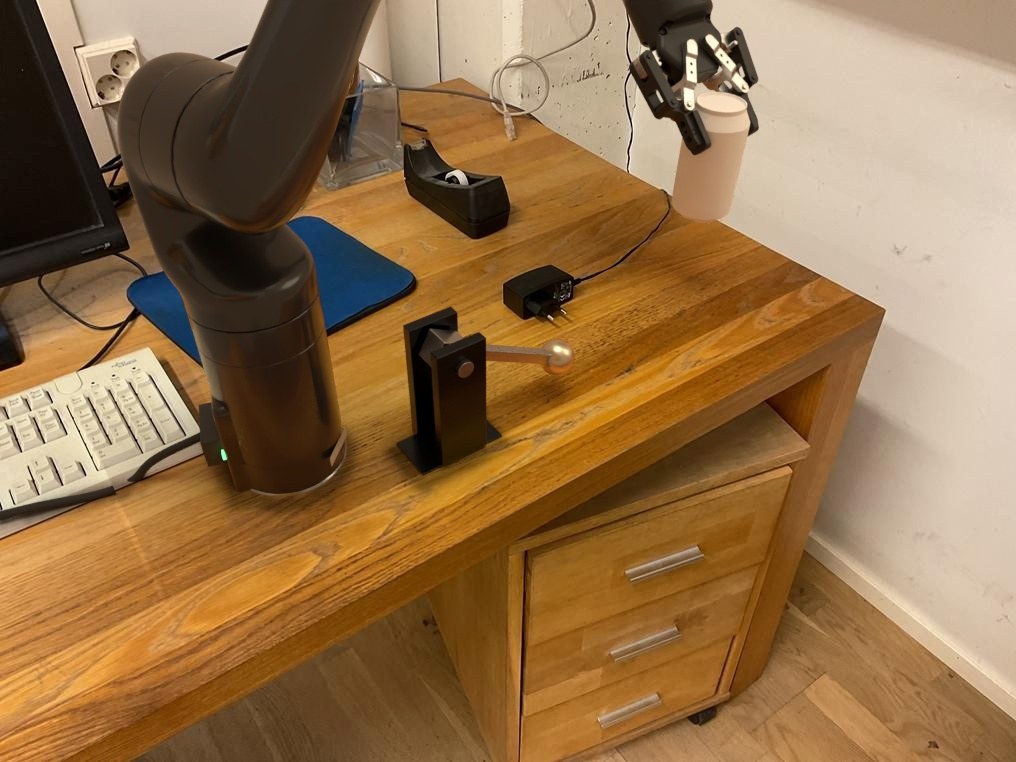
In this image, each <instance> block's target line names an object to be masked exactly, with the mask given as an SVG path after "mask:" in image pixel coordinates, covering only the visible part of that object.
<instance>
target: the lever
mask: <svg viewBox="0 0 1016 762" xmlns="http://www.w3.org/2000/svg"><path fill="white" fill-rule="evenodd" d="M463 338H465V337H464V336H463V335H461V333H459V331H458V332H457V331H451V330H440V329H429V331H428V334H427V336H426V338H425V341H424V343H423V346H422V348H421V350H420V353H419V355H420V356H421V357H422V358H423V359H424V360H425V361H426V362H427V363H428V364H429V365H430V366H431V352H432V351H434V350H437V349H439V348H442V347H444V346H446V345H449V344H451V343H454V342H456V341H458V340H461V339H463ZM486 362H498V363H499V362H500V363H501V362H502V363H517V364H533V365H534V364H535V365H536V364H537V365H540V367H541V368H542V370H543V371H544V372H545V373H547V374H549V375H552V376H561V375H564V374H566V373H567V372H569V371H570V370H571V369H572V368H573V366H574V362H575V351H574V349H573V347H572V345H570V344H569V343H568V342H567V341H565V340H563V339H559V338H558V339H557V338H555V339H550V340H548V341H547V342H546V341H545V343H544V344H542V346H541V347H540V348H539V347H538V348H537V347H528V346H527V347H526V346H511V345H501V344H499V345H498V344H487V343H486Z"/></svg>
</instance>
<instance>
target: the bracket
mask: <svg viewBox="0 0 1016 762" xmlns="http://www.w3.org/2000/svg"><path fill="white" fill-rule="evenodd" d="M458 319H459V317H458V311H457V310H455V308H454V307H452V306H448V307H445V308H443V309H440V310H438V311H435V312H432V313H429V314H428V315H425V316H423V317H420V318H418V319H415V320H412V321H410V322H407V323H405V324H403V325H402V329H403V340H404V352H405V363H406V375H407V386H408V397H409V408H410V419H411V421H410V422H411V430H412V431H411V432H412V433H413V435H411V436H408V437H406V438H404V439H402V440H399V441H398V442H395V445H396V447H397V448H398V450H400V452H402V454H403V455H404V456H405V457H406V458H407V460H408V461H409V462H410V463H411V464H412V466H413V467H414V468H415V469H416V470H417V471H418V472H419V473H420V475H421V476H422V477H424V476H427V475H428V474H431V473H432V472H434V471H436V470H438V469H440V468H442V467H446V466H448V465H449V464H452V463H454V462H456V461H458V460H460V459H463V458H464V457H466V456H469V455H470V454H472V453H474V452H476V451H478V450H480V449H482V448H484V447H486V446H487V445H488V444H490V443H492V442H495V441H497V440H499V439H501V438H502V437H503V434H502V433H501V432H500V431H499V430H498V429H497V428H496V427H495V426H494V425H493V424H492V423H491V422H490V421H489V420H488V419H487V361H486V344H487V338H486V337H485V336H484V335H483V334H482V333H481V332H480V331H478V332H475V333H473V334H470V335H468V336H465V337H464V338H463V339H461V340H458V341H456V342H454V343H451V344H449V345H446V346H444V347H442V348H439V349H437V350H434V351H432V352H431V366H430V365H429V364H428V363H427V362H426V361H425V360H424V359H423V358H422V357H421V356H420V355H419V353H420V350H421V348H422V346H423V343H424V341H425V338H426V336H427V334H428V331H429V329H440V330H451V331H457V332H458V333H459V321H458Z"/></svg>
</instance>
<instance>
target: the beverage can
mask: <svg viewBox="0 0 1016 762" xmlns="http://www.w3.org/2000/svg"><path fill="white" fill-rule="evenodd" d="M694 105H695V107H694V109H693V111H695V110H698V112H699V115H700V117H701V119H702V122H703V124H704V126H705V129H706V131H707V133H708V136H709V138H710V140H711V147H710V148H709V149H707V150H705V151H704V152H702V153H700V154H698V155H693V154H692V153H691V151H689V149H688V148H687V147H686V145H685V143H684V140H683V138H682V137H681V143H680V148H679V155H678V158H677V159H678V160H677V164H676V165H677V166H676V171H675V178H674V184H673V190H672V195H671V206H672V208H673V209H674V211H675V212H676V213H678V214H680V216H681V217H683V218H684V219H686V220H689V221H691V222H693V223H694V222H695V223H700V224H701V223H702V224H703V223H704V224H707V223H712V222H715V221H717V220H720V219H723V218H725V217H726V216H728V214H729V213H730V211H731V209H732V205H733V201H734V197H735V192H736V188H737V184H738V179H739V175H740V171H741V166H742V161H743V158H744V153H745V149H746V145H747V140H748V137H749V136H748V132H749V127H750V120H749V116H748V113H747V102H746V101H745V100H744V99H742V98H741V97H739V96H736V95H733V94H730V93H724V92H716V91H709V92H703V93H700V94H699V95H697V96H696V97H695V100H694ZM747 136H748V137H747Z"/></svg>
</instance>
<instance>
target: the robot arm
mask: <svg viewBox="0 0 1016 762" xmlns="http://www.w3.org/2000/svg"><path fill="white" fill-rule="evenodd" d="M621 1H622V4H623V5H624V9H625V10H626V13H627V15H628V17H629V20H630V22H631V25H632V27H633V29H634V31H635V34H636V36H637V38H638V41H639V43H640V45H641V47H644V48H648V49H646V50H644V51H643V52H642V53H640V54H639V55H638V56H637V57H636V58H635V59H634V60H632V62H630V63H629V64H628V70H629V72H630V74H631V76H632V78H633V80H634V82H635V84H636V85H637V88H638V89H639V91H640V93H641V96H642V97H643V99H644V101H645V103H646V104H647V106H648V108H649V110H650V112H651V113H652V115H653V117H654V119H656V120H662V119H663V118H665V119H670V120H671V121H672V122H675V124H676V126H677V128H678V131H679V133H680V135H681V139H682V138H683V140H684V143H685V145H686V147H687V148H688V149H689V151H691V153H692V154H693V155H698V154H700V153H702V152H704V151H705V150H707V149H709V148H710V147H711V140H710V138H709V136H708V133H707V131H706V129H705V126H704V124H703V122H702V119H701V117H700V115H699V112H698V110H695V111H693V109H694V107H695V105H694V104H695V89H696V87H697V85H698V84H703V86H705V88H706V89H707V90H709V91H713V92H724V93H730V94H733V95H736V96H739V97H741V98H742V99H744V100H745V101H746V102H747V113H748V116H749V120H750V127H749V132H748V136H747V138H748V137H750V136H752V135H753V134H756V132H758V131H759V129H760V125H759V119H758V117H757V114H756V112H755V110H754V107H753V105H752V101H751V100H750V98H749V94H748V93H749V91H750V90H751V88H752V87H753V86H755V85H756V84H758V82H759V76H758V72H757V70H756V66H755V64H754V61H753V57H752V55H751V52H750V49H749V45H748V43H747V41H746V37H745V35H744V32H743V29H742V28H741V27H739V26H735V27H734V28H733V29H731V30H730V31H729V32H720V31H719V29H717V28H716V26H715V25H714V24H713V22H712V20H711V19H712V18H711V17H712V11H713V9H714V4H713V0H621ZM381 2H382V0H267V2H266V4H265V7H264V9H263V11H262V13H261V15H260V18H259V21H258V23H257V25H256V28H255V30H254V32H253V35H252V37H251V40H250V42H249V44H248V45H247V48H246V50H245V51H244V53H243V55H242V57H241V59H240V60H239V62H238V64H237V66H235V65H232V64H229V63H226V62H223V61H220V60H218V59H215V58H211V57H209V56H205V55H202V54H198V53H193V52H192V53H191V52H183V51H182V52H177V51H176V52H169V53H165V54H161V55H159V56H156V57H154V58H151V59H149V60H148V61H147V62H144V63H143V64H142V65H141V66H140V67H138V69H137V70H136V71H135V72H134V73H133V74H132V76H130V79H128V81H127V83H126V85H125V87H124V89H123V92H122V95H121V97H120V100H119V105H118V110H117V124H116V129H117V130H116V132H117V134H116V135H117V141H118V149H119V154H120V157H121V162H122V167H123V169H124V172H125V176H126V179H127V182H128V184H129V187H130V190H131V193H132V196H133V199H134V201H135V203H136V206H137V209H138V212H139V215H140V217H141V220H142V223H143V225H144V228H145V230H146V234H147V236H148V239H149V242H150V244H151V247H152V249H153V253H154V254H155V257H156V260H157V262H158V264H159V266H160V267H161V269H162V271H163V272H164V274H165V275H166V277H167V278H168V280H169V281H170V282H171V283H172V285H173V286H174V287H175V289H176V290H177V291H178V293H179V294H180V295H179V296H180V297H181V300H182V302H183V306H184V310H185V311H186V315H187V318H188V321H189V325H190V328H191V331H192V334H193V338H194V341H195V345H196V348H197V351H198V354H199V355H198V356H199V358H200V361H201V364H202V367H203V371H204V375H205V377H206V378H205V379H206V381H207V384H208V387H209V390H210V402H205V403H200V404H198V423H199V432H197V433H195V434H193V435H191V436H188V437H187V438H184V439H182V440H180V441H177V442H175V443H173V444H171V445H168V446H167V447H165V448H163V449H161V450H159V451H158V452H156V453H154V454H153V455H151V456H149V458H148V459H146V460H145V461H144V462H142V464H141V465H140V466H139V467H138V469H137V470H136V471H135V472H134V473H133V474H132V475H131V476H130V477H128V478H127V479H126V482H129V483H135V482H140V481H141V480H142V479H143V478H144V477H145V475H146V474H147V473H148V472H149V471H150V470H151V468H153V467H154V466H156V465H157V464H158V463H160V462H161V461H164V460H165V459H167V458H169V457H171V456H172V455H174V454H177V453H179V452H181V451H183V450H185V449H187V448H190V447H192V446H194V445H197V444H200V447H201V451H202V453H203V456H204V459H205V462H206V465H207V467H208V468H210V467H214V466H219V465H224V464H227V466H228V469H229V472H230V476H231V479H232V482H233V486H234V489H235V492H237V493H242V492H247V491H251V492H254V493H256V494H259V495H262V496H267V497H291V496H296V495H301V494H304V493H308V492H309V491H312V490H315V489H316V488H319V487H321V486H323V484H325V483H327V482H328V481H329V480H331V479H332V478H333V477H334V476H335V475H336V474H337V473H338V471H339V470H340V469H341V467H342V466H343V464H344V462H345V460H346V457H347V453H348V452H347V451H348V446H347V440H346V439H347V436H348V434H349V433H348V428H347V425H345V426H344V428H343V423H342V416H341V410H340V405H339V398H338V393H337V387H336V382H335V381H336V380H335V375H334V369H333V363H332V358H331V352H330V351H331V350H330V345H329V339H328V334H327V327H326V322H325V317H324V316H325V315H324V310H323V303H322V298H321V297H322V296H321V291H320V286H319V280H318V279H319V278H318V274H317V269H316V264H315V259H314V256H313V254H312V252H311V250H310V249H309V247H308V245H307V244H306V243H305V241H304V240H303V239H302V238H301V237H300V236H299V235H298V234H297V233H296V232H295V231H294V230H293V229H292V228H291V227H290V226H289V225H288V224H287V223H288V222H289V221H290V220H291V219H293V217H295V215H296V214H298V212H299V211H300V210H301V208H302V207H303V205H304V204H305V202H306V201H307V200H308V198H309V196H310V195H311V193H312V191H313V189H314V187H315V185H316V183H317V181H318V179H319V177H320V174H321V172H322V169H323V167H324V165H325V162H326V159H327V157H328V154H329V150H330V148H331V145H332V142H333V139H334V136H335V133H336V130H337V128H338V124H339V121H340V118H341V114H342V111H343V109H344V105H345V102H346V99H347V97H348V93H349V90H350V87H351V83H352V81H353V78H354V74H355V72H356V69H357V66H358V63H359V60H360V57H361V55H362V51H363V48H364V45H365V43H366V40H367V37H368V34H369V33H370V29H371V26H372V25H373V21H374V19H375V17H376V14H377V12H378V10H379V7H380V4H381ZM740 68H741V69H742V71H743V75H744V76H743V77H742V75H741V73H740ZM719 69H721V71H719ZM726 82H728V83H729V84H730V85H731V87H729V86H728V85H727V83H726ZM657 92H658V94H659V96H660V97H659V96H658V94H657ZM660 98H661V99H662V101H661V100H660ZM116 494H117V492H116V489H115V487H114V486H113V485H110V486H107V487H103V488H101V489H97V490H93V491H89V492H84V493H78V494H73V495H68V496H62V497H57V498H56V497H55V498H51V499H46V500H42V501H41V500H40V501H35V502H32V503H26V504H23V505H19V506H15V507H11V508H7V509H2V510H0V521H4V520H7V519H10V518H14V517H20V516H22V515H27V514H31V513H36V512H40V511H45V510H49V509H55V508H61V507H66V506H72V505H76V504H81V503H86V502H90V501H94V500H98V499H103V498H106V497H109V496H112V495H116Z"/></svg>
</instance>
